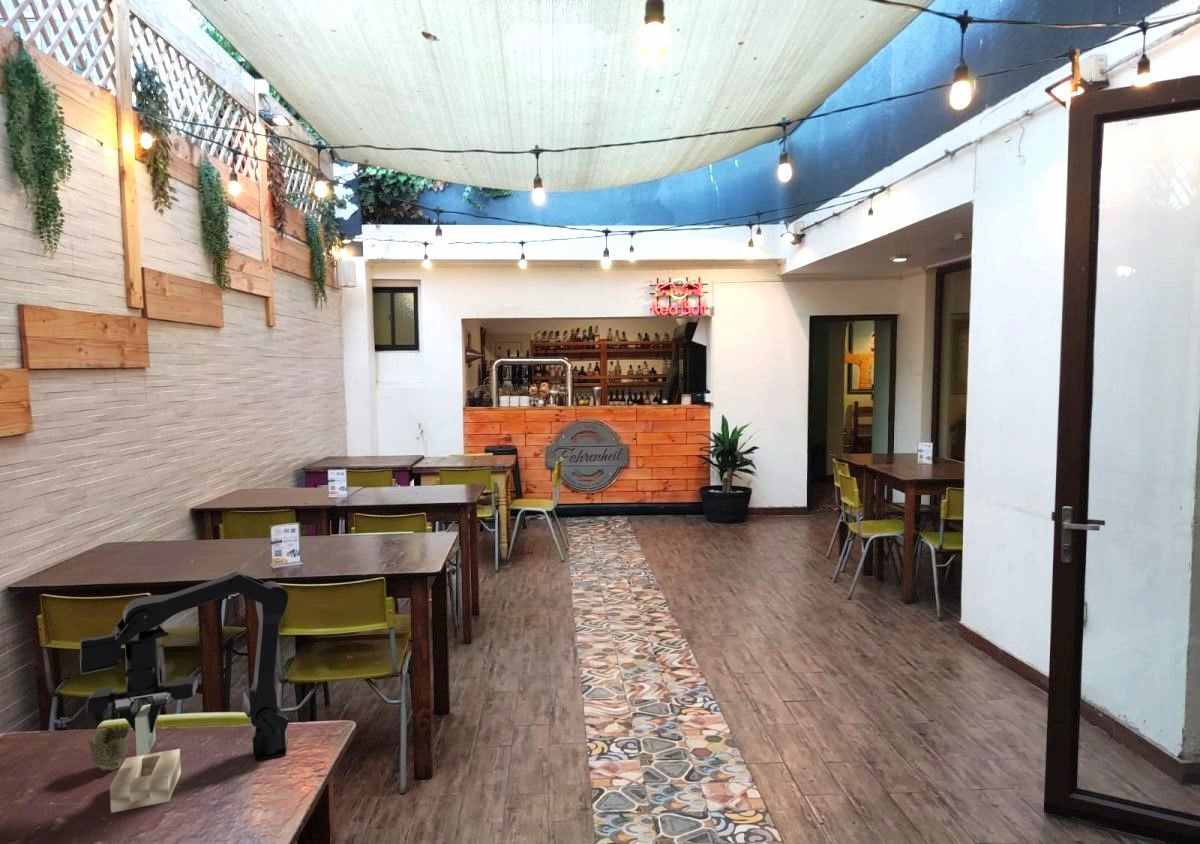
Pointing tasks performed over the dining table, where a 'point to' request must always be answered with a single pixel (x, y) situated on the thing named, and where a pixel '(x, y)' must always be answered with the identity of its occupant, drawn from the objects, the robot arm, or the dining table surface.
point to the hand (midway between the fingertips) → (145, 733)
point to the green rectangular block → (143, 731)
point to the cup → (109, 747)
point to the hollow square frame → (145, 780)
